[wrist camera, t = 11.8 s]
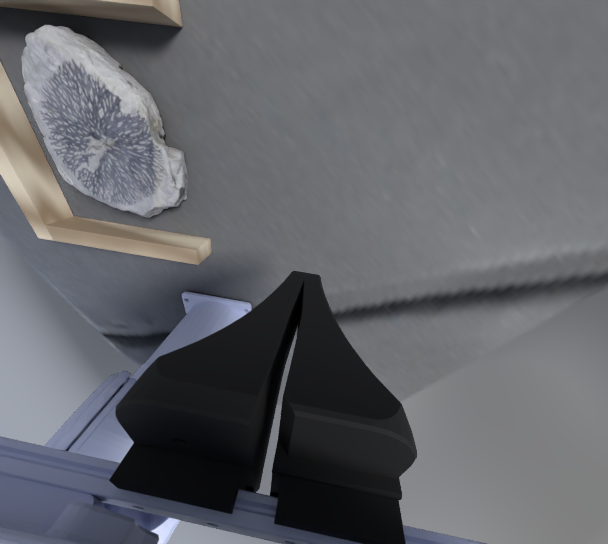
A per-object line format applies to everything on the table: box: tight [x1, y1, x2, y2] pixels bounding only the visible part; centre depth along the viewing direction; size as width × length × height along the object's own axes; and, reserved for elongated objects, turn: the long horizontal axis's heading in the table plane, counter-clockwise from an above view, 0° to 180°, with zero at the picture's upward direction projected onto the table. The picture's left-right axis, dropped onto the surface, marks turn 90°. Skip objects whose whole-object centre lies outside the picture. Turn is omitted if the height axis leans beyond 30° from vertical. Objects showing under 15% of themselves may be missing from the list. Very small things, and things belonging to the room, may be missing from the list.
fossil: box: [21, 25, 187, 218], centre depth 16 cm, size 11×4×10 cm
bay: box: [0, 0, 212, 265], centre depth 16 cm, size 17×16×2 cm
